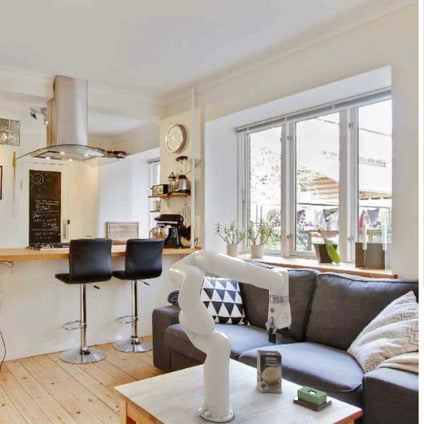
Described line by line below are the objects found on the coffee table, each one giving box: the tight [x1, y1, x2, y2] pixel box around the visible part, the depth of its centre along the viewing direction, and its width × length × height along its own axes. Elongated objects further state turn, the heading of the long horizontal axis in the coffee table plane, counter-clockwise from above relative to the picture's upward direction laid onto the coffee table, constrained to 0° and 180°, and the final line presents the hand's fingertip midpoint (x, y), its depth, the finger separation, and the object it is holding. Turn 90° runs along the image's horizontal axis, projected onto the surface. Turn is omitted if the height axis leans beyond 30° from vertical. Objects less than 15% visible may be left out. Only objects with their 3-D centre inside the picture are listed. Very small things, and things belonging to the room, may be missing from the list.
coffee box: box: [256, 349, 283, 394], centre depth 182 cm, size 9×6×16 cm
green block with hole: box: [296, 385, 328, 405], centre depth 169 cm, size 6×9×3 cm
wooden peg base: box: [293, 392, 332, 412], centre depth 169 cm, size 11×10×4 cm
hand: (279, 340), depth 172 cm, fingers open, 9 cm apart
